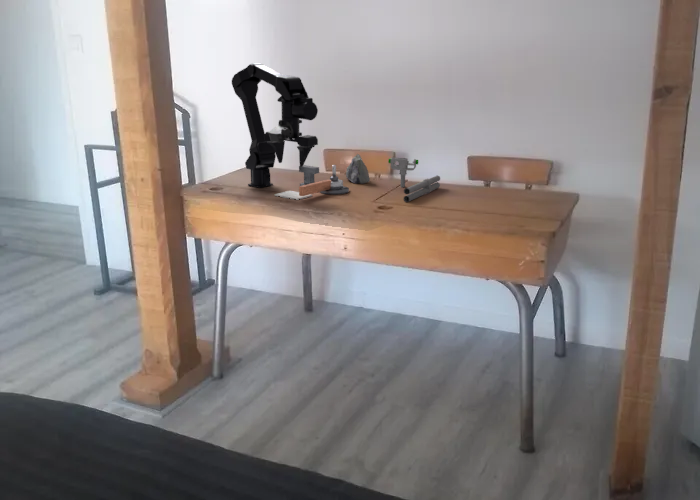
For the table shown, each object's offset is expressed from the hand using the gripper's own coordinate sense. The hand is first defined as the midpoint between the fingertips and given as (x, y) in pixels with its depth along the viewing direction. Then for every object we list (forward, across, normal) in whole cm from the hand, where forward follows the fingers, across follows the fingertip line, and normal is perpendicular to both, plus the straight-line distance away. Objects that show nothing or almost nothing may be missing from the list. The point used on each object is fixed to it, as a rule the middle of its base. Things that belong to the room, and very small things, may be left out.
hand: (290, 164), depth 232 cm
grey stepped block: (+10, -3, +13) cm, 16 cm away
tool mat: (+10, +3, -2) cm, 10 cm away
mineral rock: (+10, +5, +32) cm, 34 cm away
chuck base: (+10, +9, +12) cm, 18 cm away
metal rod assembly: (+10, +36, +26) cm, 45 cm away
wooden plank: (+8, +9, +5) cm, 13 cm away
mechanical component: (+10, +24, +32) cm, 41 cm away
